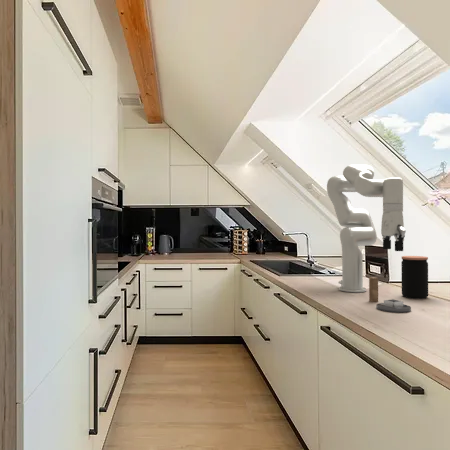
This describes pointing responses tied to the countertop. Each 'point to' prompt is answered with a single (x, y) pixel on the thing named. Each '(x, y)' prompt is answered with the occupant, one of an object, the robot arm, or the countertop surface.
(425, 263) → the coffee jar
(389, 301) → the round metal socket base
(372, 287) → the tan wooden beam
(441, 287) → the countertop surface
